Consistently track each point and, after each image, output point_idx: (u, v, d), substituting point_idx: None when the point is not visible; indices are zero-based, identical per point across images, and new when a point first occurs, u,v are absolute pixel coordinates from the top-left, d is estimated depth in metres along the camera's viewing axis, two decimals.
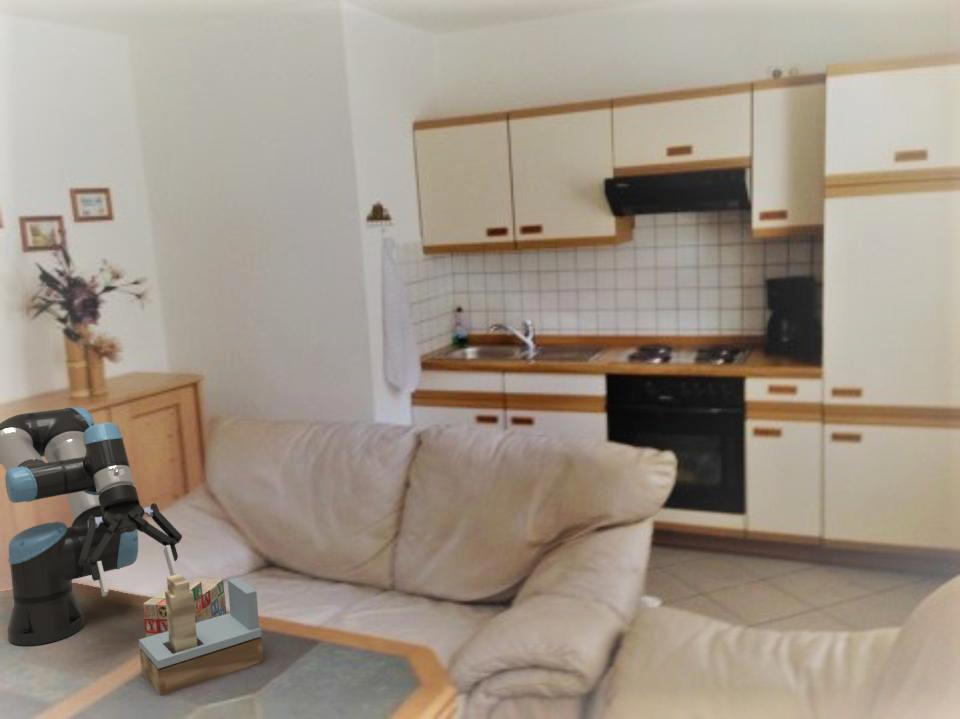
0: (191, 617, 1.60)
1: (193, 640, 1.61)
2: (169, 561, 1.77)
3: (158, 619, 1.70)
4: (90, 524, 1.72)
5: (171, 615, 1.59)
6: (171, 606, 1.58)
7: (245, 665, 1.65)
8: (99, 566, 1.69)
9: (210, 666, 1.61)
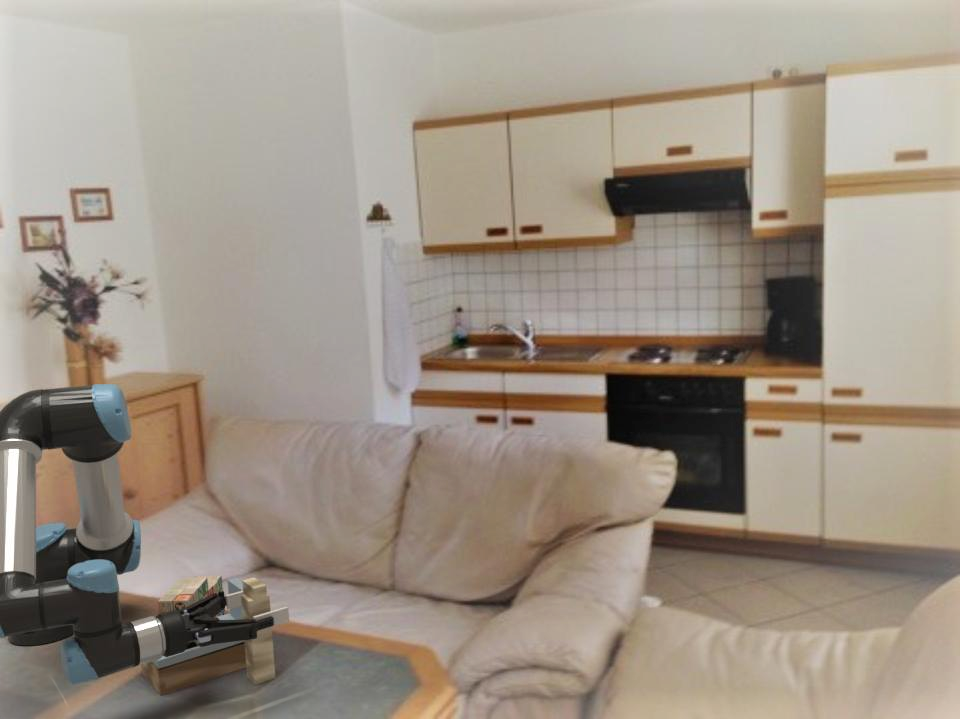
0: None
1: (269, 644, 1.60)
2: None
3: None
4: None
5: None
6: (248, 610, 1.57)
7: (245, 665, 1.65)
8: None
9: (210, 666, 1.61)
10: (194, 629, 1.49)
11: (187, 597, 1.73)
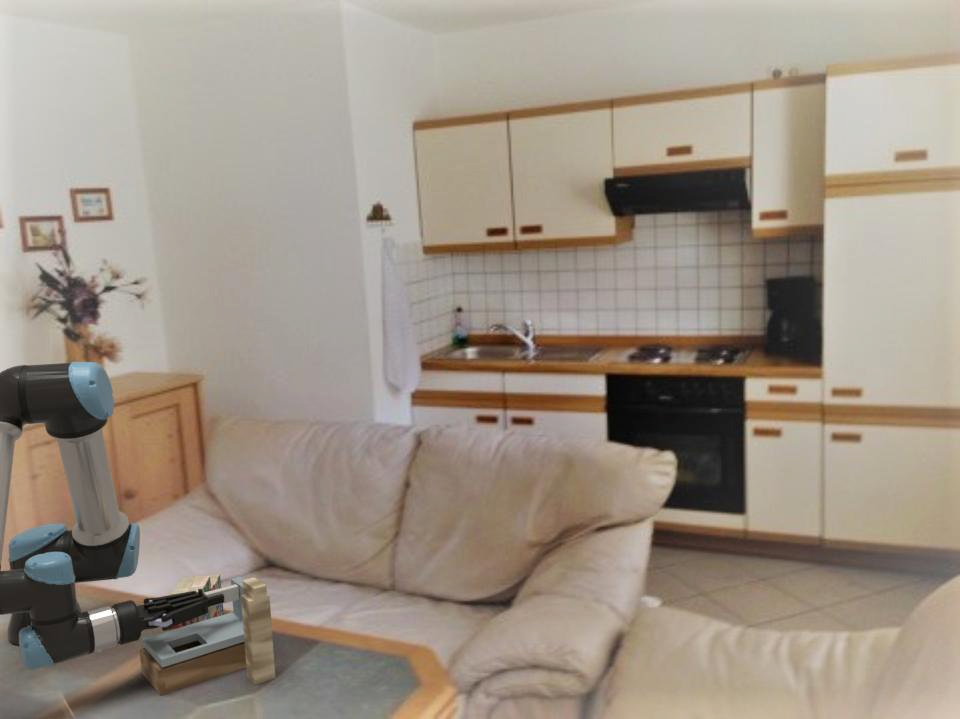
0: (268, 621, 1.59)
1: (269, 644, 1.60)
2: None
3: None
4: None
5: (248, 619, 1.58)
6: (248, 610, 1.57)
7: (245, 665, 1.65)
8: None
9: (210, 666, 1.61)
10: (151, 618, 1.57)
11: None
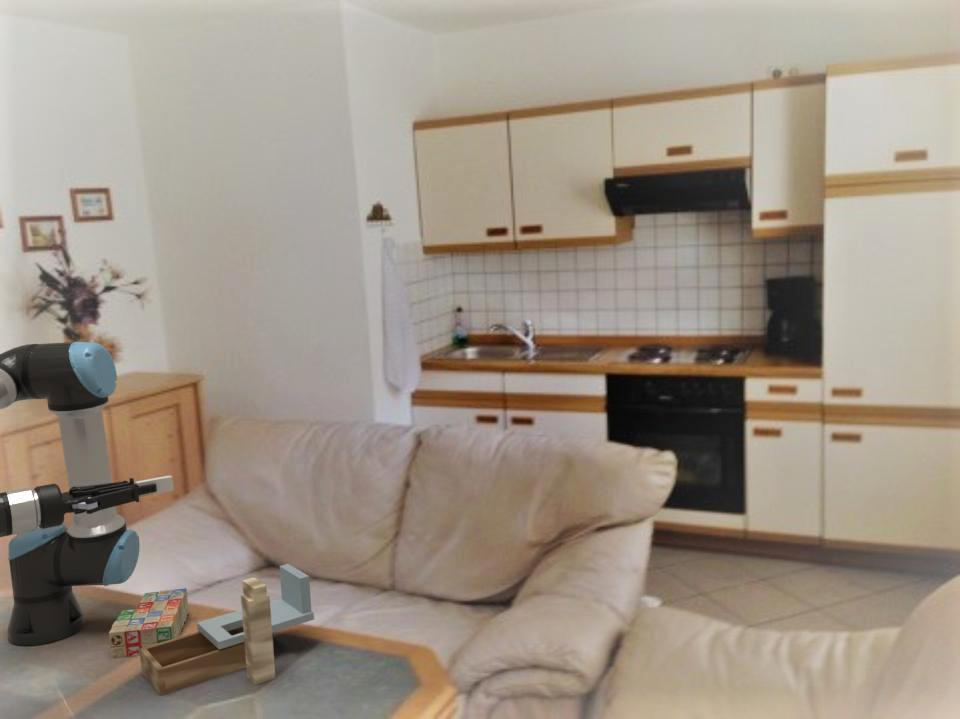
0: (268, 621, 1.59)
1: (269, 644, 1.60)
2: None
3: (125, 644, 1.72)
4: None
5: (248, 619, 1.58)
6: (248, 610, 1.57)
7: (245, 665, 1.65)
8: None
9: (210, 666, 1.61)
10: (75, 500, 1.48)
11: None
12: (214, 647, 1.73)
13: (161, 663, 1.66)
